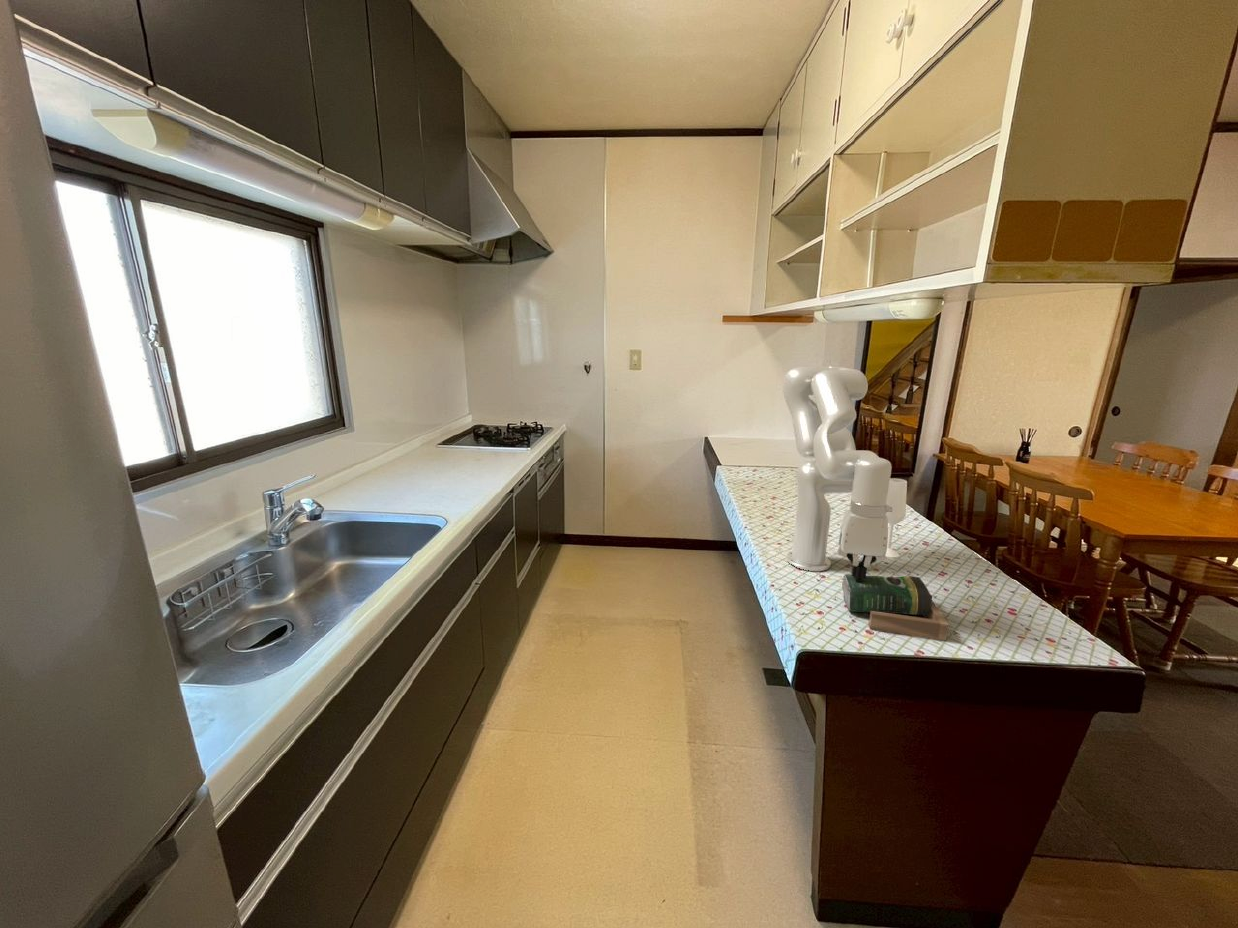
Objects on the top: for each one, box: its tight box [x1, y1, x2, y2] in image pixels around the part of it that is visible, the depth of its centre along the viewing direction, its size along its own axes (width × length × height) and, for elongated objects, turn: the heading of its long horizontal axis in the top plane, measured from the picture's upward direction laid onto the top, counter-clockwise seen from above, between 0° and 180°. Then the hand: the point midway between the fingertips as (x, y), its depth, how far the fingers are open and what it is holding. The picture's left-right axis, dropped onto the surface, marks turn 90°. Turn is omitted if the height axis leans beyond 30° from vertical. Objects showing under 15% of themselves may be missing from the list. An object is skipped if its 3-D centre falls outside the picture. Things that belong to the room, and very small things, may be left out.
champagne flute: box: [885, 477, 908, 558], centre depth 153 cm, size 7×7×24 cm
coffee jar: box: [841, 573, 933, 616], centre depth 121 cm, size 10×8×19 cm
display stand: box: [868, 599, 949, 641], centre depth 120 cm, size 18×16×4 cm
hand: (857, 579), depth 121 cm, fingers closed
